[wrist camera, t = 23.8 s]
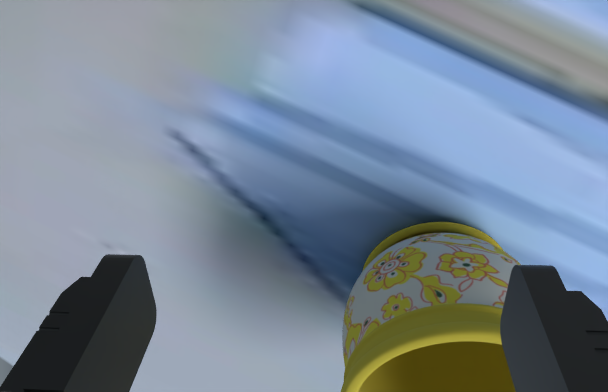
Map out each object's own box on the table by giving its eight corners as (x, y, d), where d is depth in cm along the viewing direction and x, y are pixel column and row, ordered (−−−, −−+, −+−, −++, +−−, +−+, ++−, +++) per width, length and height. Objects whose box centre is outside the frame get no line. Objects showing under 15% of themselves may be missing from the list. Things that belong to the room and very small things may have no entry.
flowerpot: (440, 161, 47) (476, 290, 33) (565, 271, 53) (639, 421, 39) (306, 272, 55) (290, 413, 42) (426, 357, 61) (447, 506, 47)
